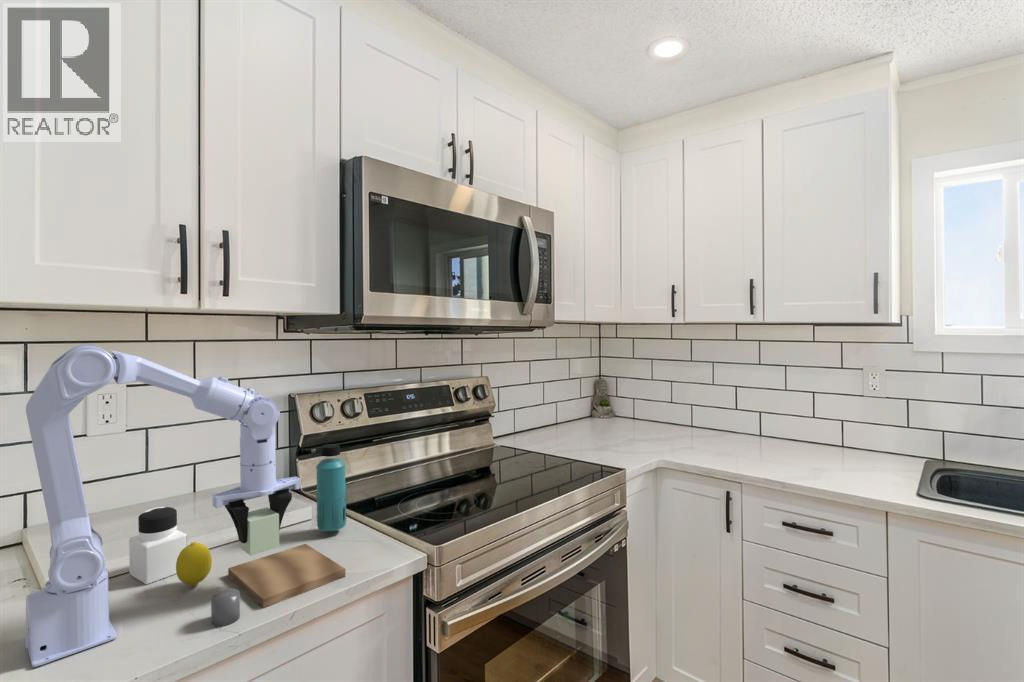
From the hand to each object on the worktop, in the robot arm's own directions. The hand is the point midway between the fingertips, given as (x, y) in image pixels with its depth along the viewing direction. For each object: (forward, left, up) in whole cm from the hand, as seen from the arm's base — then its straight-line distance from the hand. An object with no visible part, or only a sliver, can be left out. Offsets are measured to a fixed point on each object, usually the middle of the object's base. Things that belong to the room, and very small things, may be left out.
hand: (259, 536), depth 95 cm
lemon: (-8, +9, -9) cm, 15 cm away
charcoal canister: (-8, -7, -9) cm, 14 cm away
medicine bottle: (-11, +19, -9) cm, 24 cm away
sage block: (0, 0, -2) cm, 2 cm away
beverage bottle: (+21, +13, -9) cm, 26 cm away
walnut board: (+5, 0, -9) cm, 10 cm away
